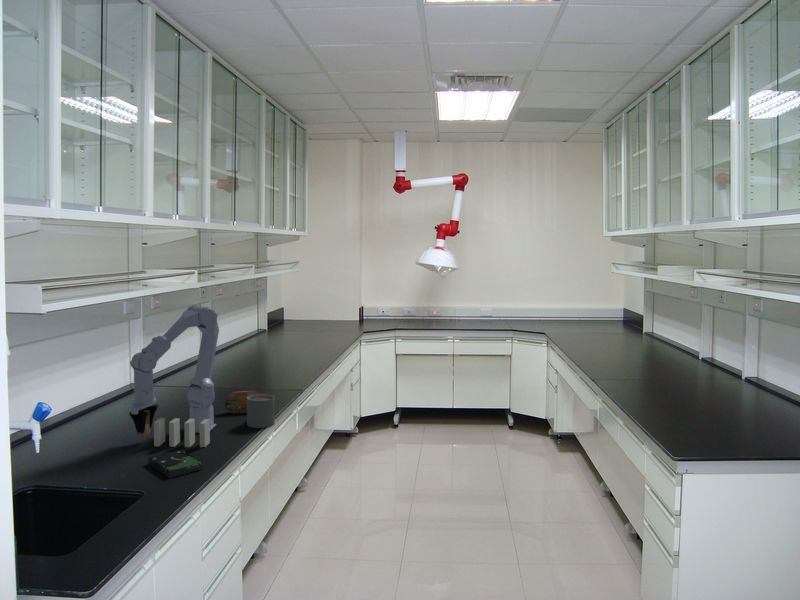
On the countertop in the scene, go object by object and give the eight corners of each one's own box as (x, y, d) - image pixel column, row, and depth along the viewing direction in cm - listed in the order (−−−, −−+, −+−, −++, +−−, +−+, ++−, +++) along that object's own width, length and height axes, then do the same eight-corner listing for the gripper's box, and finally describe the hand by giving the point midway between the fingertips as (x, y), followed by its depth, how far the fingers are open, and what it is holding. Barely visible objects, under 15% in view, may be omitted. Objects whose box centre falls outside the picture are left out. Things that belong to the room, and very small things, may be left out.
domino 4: (199, 447, 199) (199, 423, 198) (205, 442, 204) (204, 419, 203) (204, 447, 199) (204, 423, 198) (209, 442, 204) (209, 419, 203)
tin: (224, 414, 237) (224, 393, 236) (224, 412, 240) (223, 391, 239) (264, 411, 242) (264, 390, 242) (262, 409, 245) (262, 388, 244)
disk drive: (147, 466, 183) (169, 479, 173) (147, 457, 183) (169, 470, 172) (181, 458, 190) (203, 470, 180) (180, 449, 190) (203, 461, 180)
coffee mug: (273, 427, 221) (273, 400, 221) (245, 428, 220) (245, 401, 219) (275, 417, 235) (276, 391, 234) (249, 417, 233) (249, 392, 232)
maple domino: (138, 438, 199) (138, 414, 198) (145, 433, 204) (144, 409, 203) (143, 438, 199) (143, 414, 198) (150, 433, 204) (149, 410, 203)
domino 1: (154, 446, 199) (153, 422, 198) (160, 441, 204) (160, 417, 203) (159, 446, 199) (158, 422, 198) (165, 441, 204) (164, 418, 203)
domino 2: (169, 446, 199) (169, 422, 198) (175, 441, 204) (174, 418, 203) (174, 446, 199) (173, 422, 198) (180, 441, 204) (179, 418, 203)
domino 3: (184, 447, 199) (184, 423, 198) (190, 442, 204) (189, 418, 203) (189, 447, 199) (189, 423, 198) (194, 442, 204) (194, 418, 203)
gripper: (141, 383, 207) (142, 423, 208) (121, 394, 193) (121, 436, 194) (162, 384, 207) (162, 423, 208) (143, 394, 193) (143, 436, 194)
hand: (144, 429), depth 201 cm, fingers closed on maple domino, 5 cm apart
